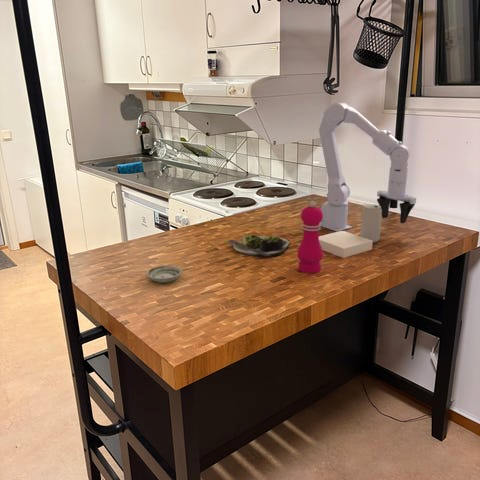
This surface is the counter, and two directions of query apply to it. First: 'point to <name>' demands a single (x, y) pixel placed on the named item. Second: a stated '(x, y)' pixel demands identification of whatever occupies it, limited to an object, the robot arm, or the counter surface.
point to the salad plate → (261, 245)
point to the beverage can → (371, 222)
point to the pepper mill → (310, 240)
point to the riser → (344, 244)
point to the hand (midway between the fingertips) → (393, 220)
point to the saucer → (164, 273)
